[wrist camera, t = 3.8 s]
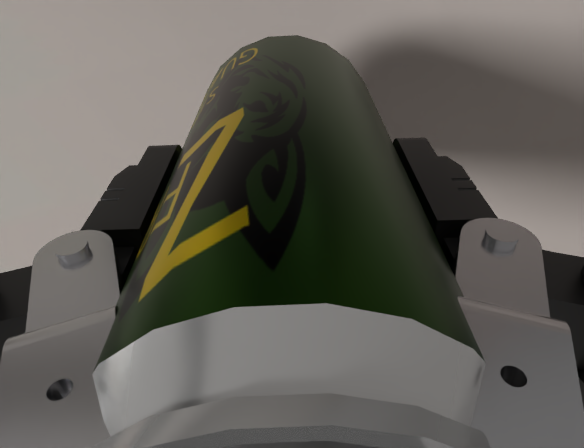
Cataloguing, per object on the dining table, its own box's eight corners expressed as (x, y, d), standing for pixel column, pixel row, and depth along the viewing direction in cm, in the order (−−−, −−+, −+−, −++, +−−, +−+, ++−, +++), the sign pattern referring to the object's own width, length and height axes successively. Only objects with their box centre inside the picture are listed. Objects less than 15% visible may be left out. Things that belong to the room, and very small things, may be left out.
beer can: (398, 74, 14) (685, 483, 4) (322, 202, 16) (377, 620, 7) (239, -4, 12) (70, 329, 2) (187, 151, 15) (13, 585, 5)
